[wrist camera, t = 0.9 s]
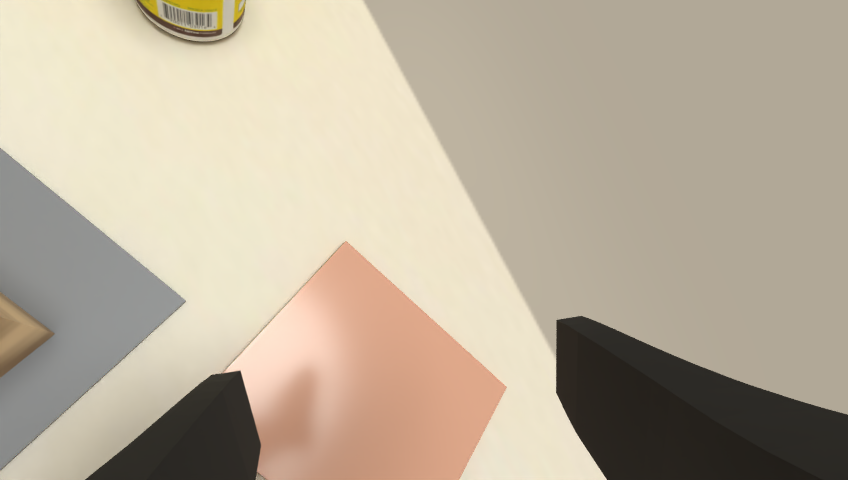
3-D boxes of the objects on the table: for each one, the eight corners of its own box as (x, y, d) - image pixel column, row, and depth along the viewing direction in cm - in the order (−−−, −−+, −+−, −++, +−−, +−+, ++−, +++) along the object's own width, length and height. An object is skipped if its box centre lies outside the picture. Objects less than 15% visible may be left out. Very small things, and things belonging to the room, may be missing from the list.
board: (401, 582, 20) (404, 585, 20) (184, 414, 18) (183, 415, 18) (502, 387, 26) (506, 387, 25) (344, 242, 24) (345, 240, 24)
